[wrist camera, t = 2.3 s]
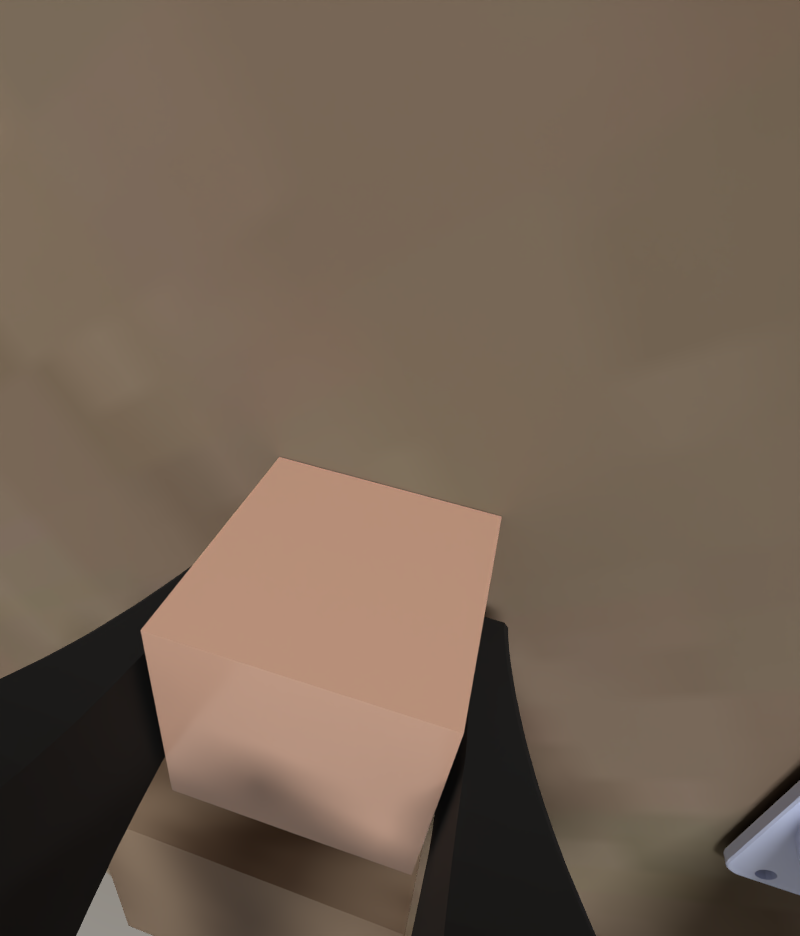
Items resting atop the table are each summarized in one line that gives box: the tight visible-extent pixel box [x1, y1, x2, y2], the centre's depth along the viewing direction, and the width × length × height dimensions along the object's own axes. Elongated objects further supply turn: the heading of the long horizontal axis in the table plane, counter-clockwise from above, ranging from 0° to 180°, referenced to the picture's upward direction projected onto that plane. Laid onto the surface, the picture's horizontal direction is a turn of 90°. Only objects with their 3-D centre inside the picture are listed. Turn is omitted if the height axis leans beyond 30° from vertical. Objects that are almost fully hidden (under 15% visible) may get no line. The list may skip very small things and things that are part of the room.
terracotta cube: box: [141, 457, 502, 875], centre depth 12 cm, size 5×5×5 cm
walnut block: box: [109, 757, 423, 936], centre depth 21 cm, size 10×10×4 cm
